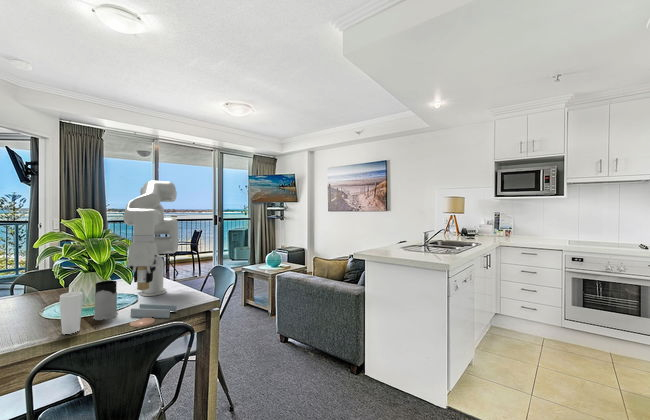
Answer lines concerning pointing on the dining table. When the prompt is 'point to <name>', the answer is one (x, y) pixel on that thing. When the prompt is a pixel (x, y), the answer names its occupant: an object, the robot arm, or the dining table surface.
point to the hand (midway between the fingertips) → (143, 281)
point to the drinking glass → (71, 311)
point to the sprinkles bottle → (142, 278)
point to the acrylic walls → (153, 310)
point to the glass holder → (105, 300)
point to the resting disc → (142, 322)
